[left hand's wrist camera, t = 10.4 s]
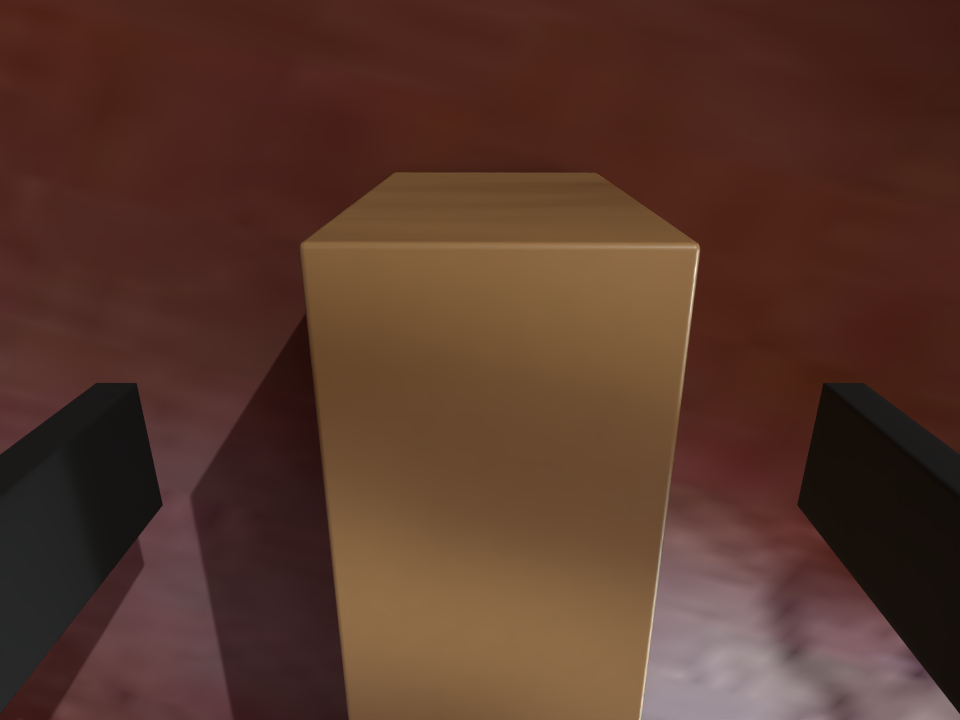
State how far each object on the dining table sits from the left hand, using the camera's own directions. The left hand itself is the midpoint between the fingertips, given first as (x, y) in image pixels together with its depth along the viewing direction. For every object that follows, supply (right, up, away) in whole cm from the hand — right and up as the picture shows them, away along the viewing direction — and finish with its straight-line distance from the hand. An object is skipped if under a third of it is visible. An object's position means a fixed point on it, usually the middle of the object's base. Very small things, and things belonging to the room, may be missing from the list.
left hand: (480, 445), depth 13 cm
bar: (0, -25, +15) cm, 29 cm away
